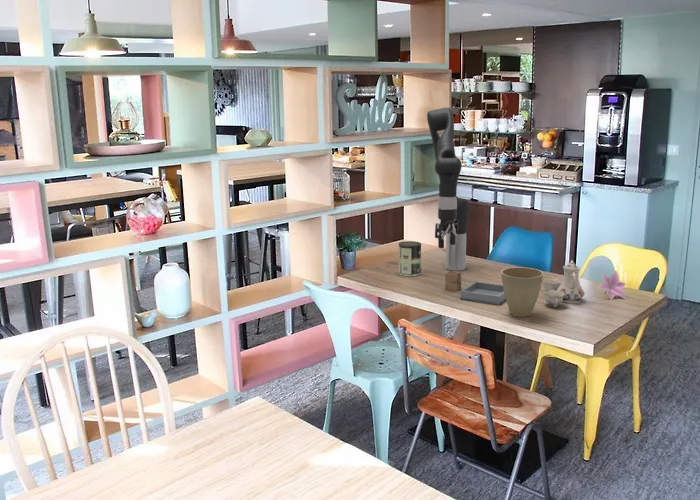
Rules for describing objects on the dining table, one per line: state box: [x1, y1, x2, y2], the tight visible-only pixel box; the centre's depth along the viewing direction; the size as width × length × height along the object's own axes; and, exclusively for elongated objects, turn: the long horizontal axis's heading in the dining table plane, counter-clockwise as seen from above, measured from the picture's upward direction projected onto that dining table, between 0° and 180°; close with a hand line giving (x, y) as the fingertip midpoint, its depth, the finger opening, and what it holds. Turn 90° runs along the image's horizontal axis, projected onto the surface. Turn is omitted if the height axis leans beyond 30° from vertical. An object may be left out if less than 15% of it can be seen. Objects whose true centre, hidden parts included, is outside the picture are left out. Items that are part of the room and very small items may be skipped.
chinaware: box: [541, 259, 585, 308], centre depth 259 cm, size 28×17×17 cm, turn 171°
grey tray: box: [459, 280, 506, 306], centre depth 265 cm, size 16×16×4 cm
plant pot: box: [500, 266, 544, 318], centre depth 243 cm, size 15×15×16 cm
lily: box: [598, 270, 627, 301], centre depth 263 cm, size 12×12×10 cm
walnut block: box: [444, 270, 462, 293], centre depth 276 cm, size 5×5×7 cm
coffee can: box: [398, 240, 422, 277], centre depth 301 cm, size 10×10×14 cm
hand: (446, 246), depth 272 cm, fingers open, 8 cm apart
